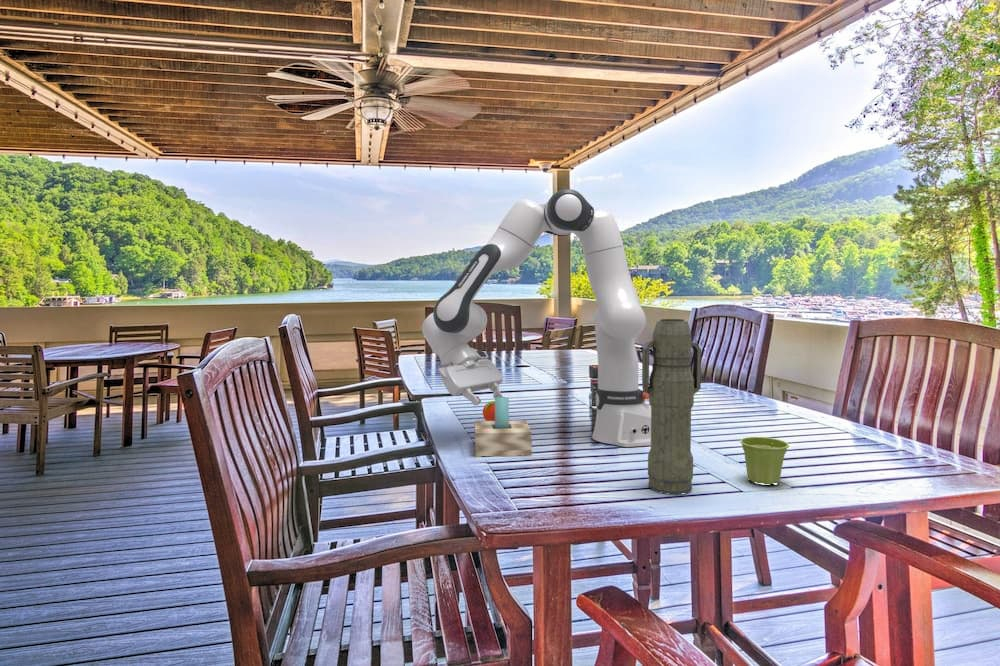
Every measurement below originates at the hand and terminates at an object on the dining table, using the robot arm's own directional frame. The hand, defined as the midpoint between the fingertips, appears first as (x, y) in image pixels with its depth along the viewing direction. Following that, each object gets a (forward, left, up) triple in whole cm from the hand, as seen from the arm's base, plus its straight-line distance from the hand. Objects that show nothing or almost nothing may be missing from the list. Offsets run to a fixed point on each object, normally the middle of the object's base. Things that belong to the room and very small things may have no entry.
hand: (489, 401), depth 150 cm
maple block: (-3, +2, -12) cm, 13 cm away
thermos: (-36, +35, -13) cm, 52 cm away
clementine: (-2, -29, -13) cm, 31 cm away
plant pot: (-57, +33, -13) cm, 67 cm away
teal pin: (-3, +2, -11) cm, 11 cm away
